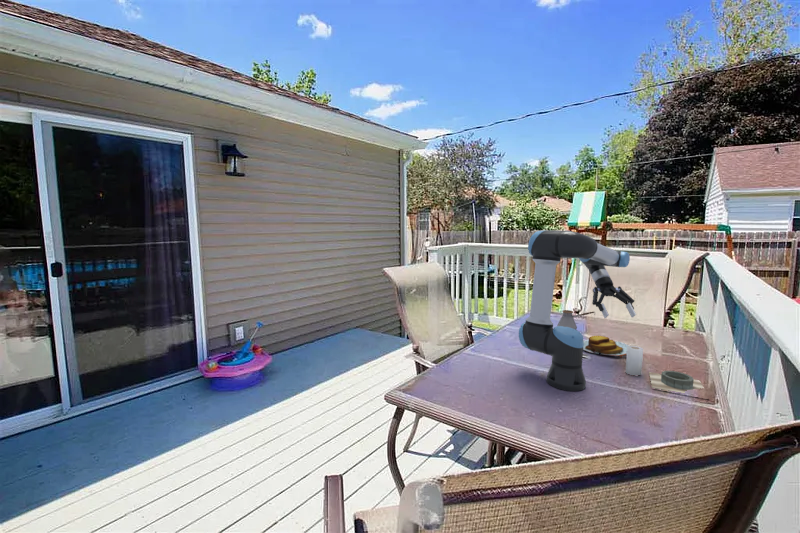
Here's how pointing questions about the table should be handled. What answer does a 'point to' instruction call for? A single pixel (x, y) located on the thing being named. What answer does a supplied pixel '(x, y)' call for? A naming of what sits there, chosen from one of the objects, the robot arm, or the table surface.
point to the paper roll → (634, 360)
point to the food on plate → (605, 346)
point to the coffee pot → (569, 319)
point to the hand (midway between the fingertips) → (620, 316)
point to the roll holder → (674, 381)
